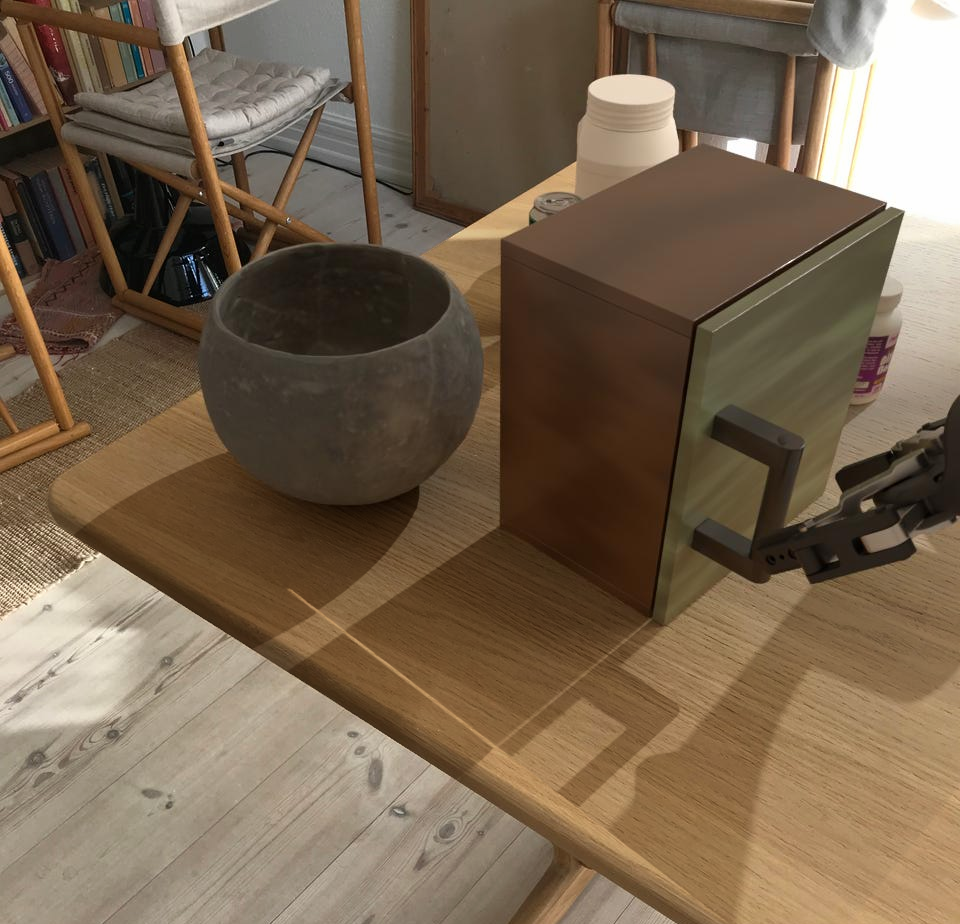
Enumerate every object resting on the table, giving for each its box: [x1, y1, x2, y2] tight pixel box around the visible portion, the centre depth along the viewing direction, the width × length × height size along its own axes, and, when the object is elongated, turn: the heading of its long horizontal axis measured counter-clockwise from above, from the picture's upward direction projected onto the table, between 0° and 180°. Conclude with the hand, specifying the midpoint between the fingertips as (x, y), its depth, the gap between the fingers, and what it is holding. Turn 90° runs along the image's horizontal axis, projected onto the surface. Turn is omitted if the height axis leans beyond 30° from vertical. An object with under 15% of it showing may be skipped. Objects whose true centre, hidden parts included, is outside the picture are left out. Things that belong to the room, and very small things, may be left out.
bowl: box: [197, 241, 485, 506], centre depth 77 cm, size 20×20×15 cm
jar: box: [574, 73, 680, 200], centre depth 104 cm, size 12×10×15 cm
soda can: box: [528, 191, 583, 226], centre depth 92 cm, size 5×5×12 cm
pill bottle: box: [849, 275, 904, 406], centre depth 86 cm, size 5×5×10 cm
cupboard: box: [499, 142, 888, 618], centre depth 71 cm, size 14×20×22 cm
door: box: [651, 206, 906, 627], centre depth 65 cm, size 6×20×22 cm, turn 135°
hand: (803, 520), depth 59 cm, fingers open, 8 cm apart
